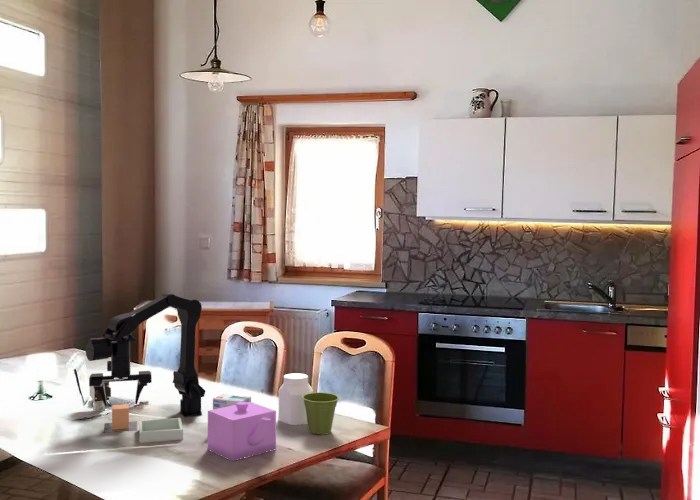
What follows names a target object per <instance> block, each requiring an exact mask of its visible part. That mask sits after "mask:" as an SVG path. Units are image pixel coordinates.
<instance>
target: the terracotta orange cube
mask: <svg viewBox="0 0 700 500" xmlns="http://www.w3.org/2000/svg"><path fill="white" fill-rule="evenodd" d="M129 405H130V404H129V403H123V404H112V408H111V411H112V412H111V421H112V422H111V423H112V430H115V429H129V422H130V406H129Z"/></svg>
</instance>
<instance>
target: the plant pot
mask: <svg viewBox="0 0 700 500" xmlns="http://www.w3.org/2000/svg"><path fill="white" fill-rule="evenodd" d="M302 399H304V405H305V408H306V416H307V424H306V425H307V431H308V433H311V434H312V433H313V435H316V434H318V435H321V434H323V435H327V433H328V434H329V432H330V433H331V431H332V427H333V423H334V416H335V413H336V412H335V410H336V407H337V404H338V401H339V400H340V396H339V395H337V394H334V393H331V392H321V391H320V392H318V391H317V392H313V393H308V394H305V395H303V396H302Z"/></svg>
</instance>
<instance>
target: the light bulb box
mask: <svg viewBox="0 0 700 500" xmlns="http://www.w3.org/2000/svg"><path fill="white" fill-rule="evenodd" d="M238 402H252V397H251V396H247V395H235V394H228V393H227V394H225V393H221V394H219V395H217V396H215V397H212V410H214V409H218V408H223V407H228V406H233V405H236V403H238Z"/></svg>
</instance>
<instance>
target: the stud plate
mask: <svg viewBox="0 0 700 500" xmlns="http://www.w3.org/2000/svg"><path fill="white" fill-rule="evenodd" d="M135 431H138V421H136V420H134V421H133V420H132V421H129V429H115V430H112V422H105V423H104V427H103V431H102V433H104V434H105V433H117V432H118V433H121V432H135Z"/></svg>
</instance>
